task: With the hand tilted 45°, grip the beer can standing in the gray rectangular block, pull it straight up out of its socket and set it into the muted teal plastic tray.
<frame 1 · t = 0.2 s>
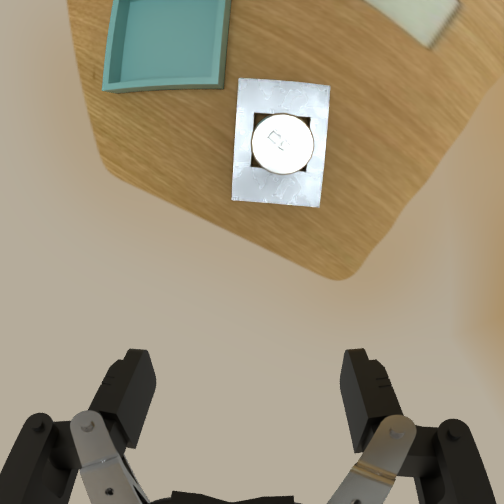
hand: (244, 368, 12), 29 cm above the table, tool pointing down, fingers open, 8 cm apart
beer can: (280, 141, 36), resting in gray rectangular block
gray rectangular block: (280, 141, 36), on the table
tray: (171, 38, 32), on the table
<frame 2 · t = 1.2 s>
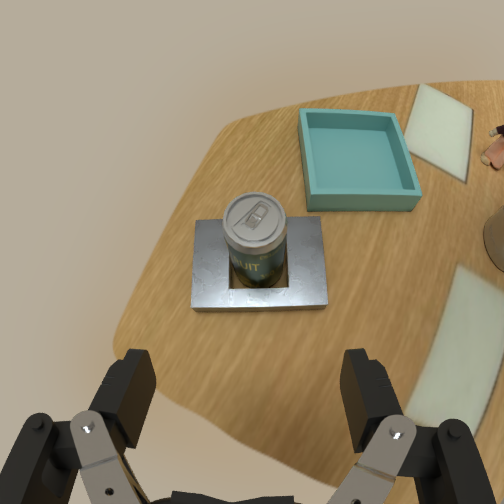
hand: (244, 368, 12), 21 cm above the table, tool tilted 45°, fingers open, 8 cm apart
beer can: (259, 268, 37), resting in gray rectangular block
gray rectangular block: (259, 267, 36), on the table
tray: (353, 165, 41), on the table
grandmother figurine: (492, 162, 41), on the table
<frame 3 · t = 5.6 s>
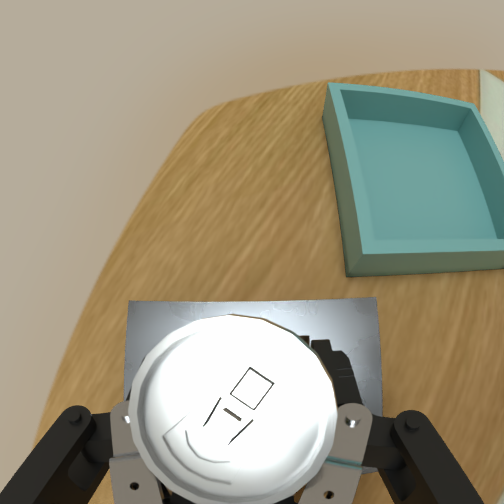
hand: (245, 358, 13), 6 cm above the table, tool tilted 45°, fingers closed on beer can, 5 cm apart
beer can: (252, 392, 18), resting in gray rectangular block, touching gripper
gray rectangular block: (252, 392, 18), on the table
tray: (418, 187, 22), on the table
when the fingers open (8 cm above the table, at t = 11.8 s): beer can drops 1 cm, resting on tray.
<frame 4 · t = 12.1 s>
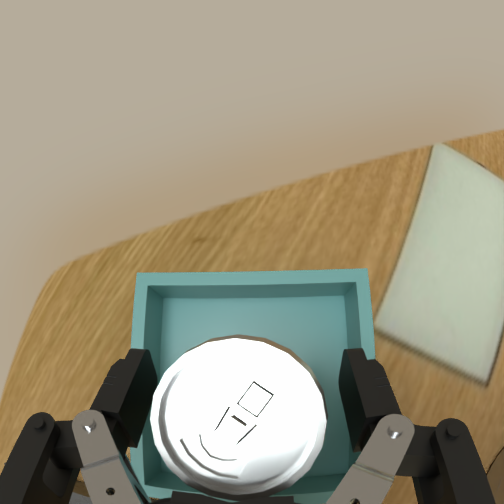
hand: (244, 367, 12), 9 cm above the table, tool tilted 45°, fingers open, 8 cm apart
beer can: (253, 393, 19), point 1 cm above the table, touching tray
tray: (253, 390, 20), on the table
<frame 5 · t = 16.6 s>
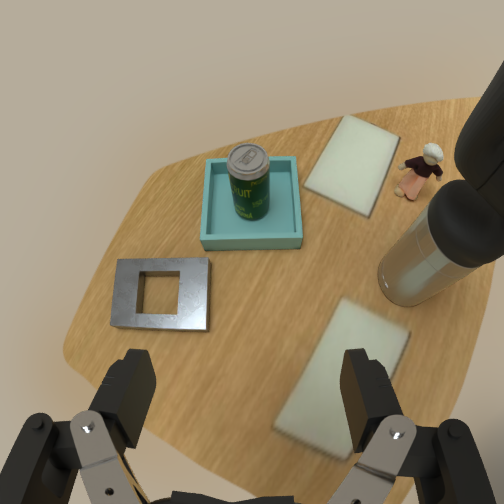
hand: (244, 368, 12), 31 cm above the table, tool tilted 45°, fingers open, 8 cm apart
beer can: (252, 207, 49), point 1 cm above the table, touching tray
gray rectangular block: (162, 296, 45), on the table
tray: (252, 208, 50), on the table
grandmother figurine: (408, 193, 50), on the table
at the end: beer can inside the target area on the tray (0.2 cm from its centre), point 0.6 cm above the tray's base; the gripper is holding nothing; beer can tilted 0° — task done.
